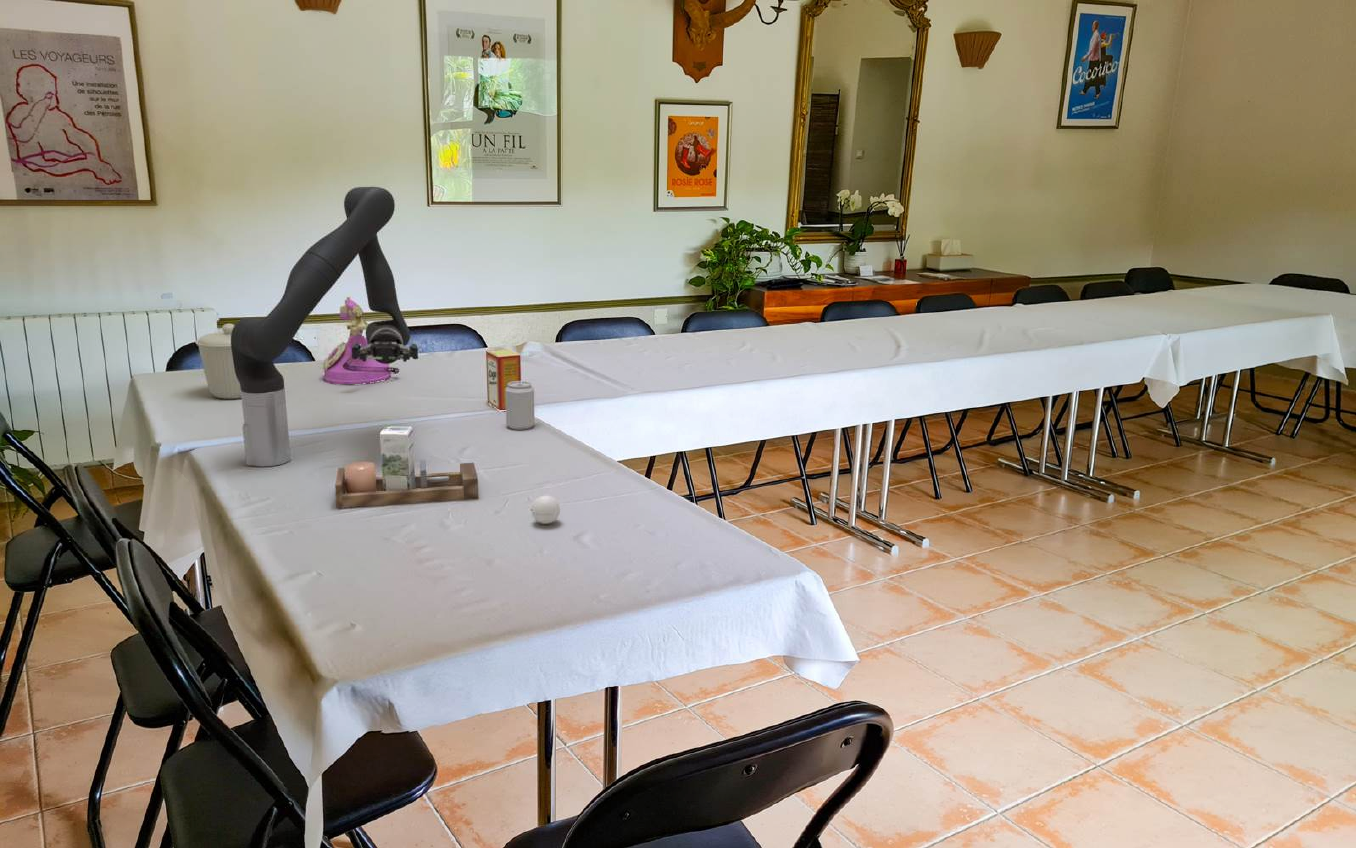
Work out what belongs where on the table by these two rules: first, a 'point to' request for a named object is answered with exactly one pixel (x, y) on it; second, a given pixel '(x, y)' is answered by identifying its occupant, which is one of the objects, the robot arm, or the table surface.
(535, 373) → the table surface
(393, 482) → the syrup box
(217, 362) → the canister
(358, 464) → the peach rounded cylinder
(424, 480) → the plate
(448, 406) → the table surface
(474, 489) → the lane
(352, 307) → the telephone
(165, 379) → the table surface
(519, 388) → the can
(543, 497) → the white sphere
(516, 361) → the baking soda box
